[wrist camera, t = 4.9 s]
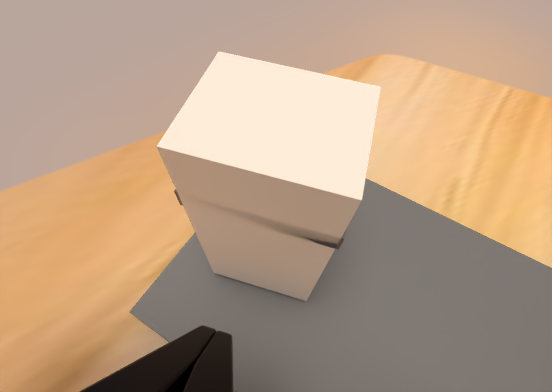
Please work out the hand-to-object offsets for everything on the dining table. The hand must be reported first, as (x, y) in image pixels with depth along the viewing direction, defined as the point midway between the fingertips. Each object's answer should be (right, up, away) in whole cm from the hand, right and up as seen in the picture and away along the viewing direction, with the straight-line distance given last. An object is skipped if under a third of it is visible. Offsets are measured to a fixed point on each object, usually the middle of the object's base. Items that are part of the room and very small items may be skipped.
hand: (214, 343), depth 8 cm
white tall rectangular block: (+1, +1, +9) cm, 9 cm away
